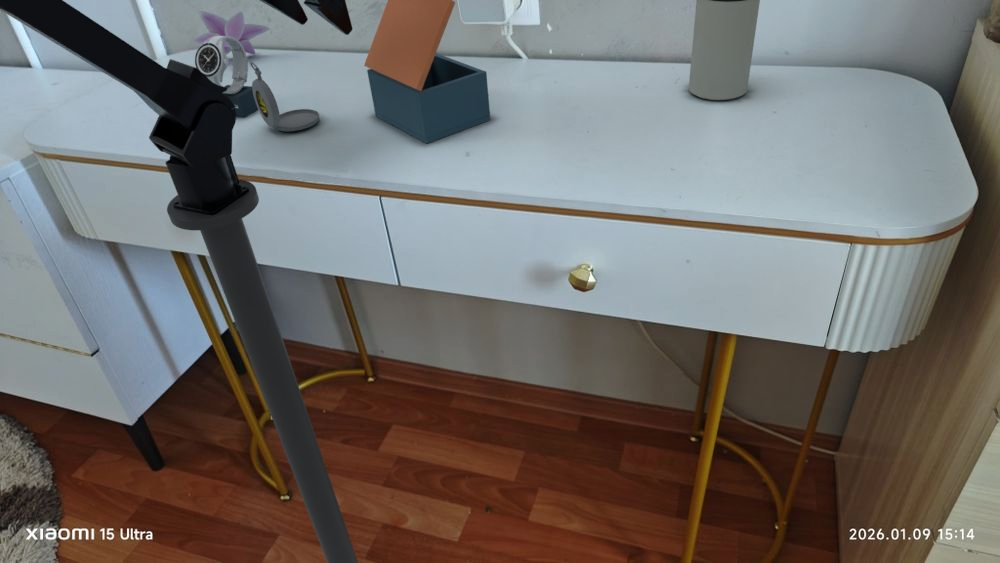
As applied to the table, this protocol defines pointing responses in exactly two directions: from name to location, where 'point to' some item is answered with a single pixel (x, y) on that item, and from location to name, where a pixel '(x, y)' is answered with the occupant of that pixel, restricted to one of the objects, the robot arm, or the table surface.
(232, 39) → the watch
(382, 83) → the storage box
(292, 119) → the pocket watch
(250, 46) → the lily
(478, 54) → the table surface
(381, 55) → the box lid
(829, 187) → the table surface
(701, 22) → the travel mug
